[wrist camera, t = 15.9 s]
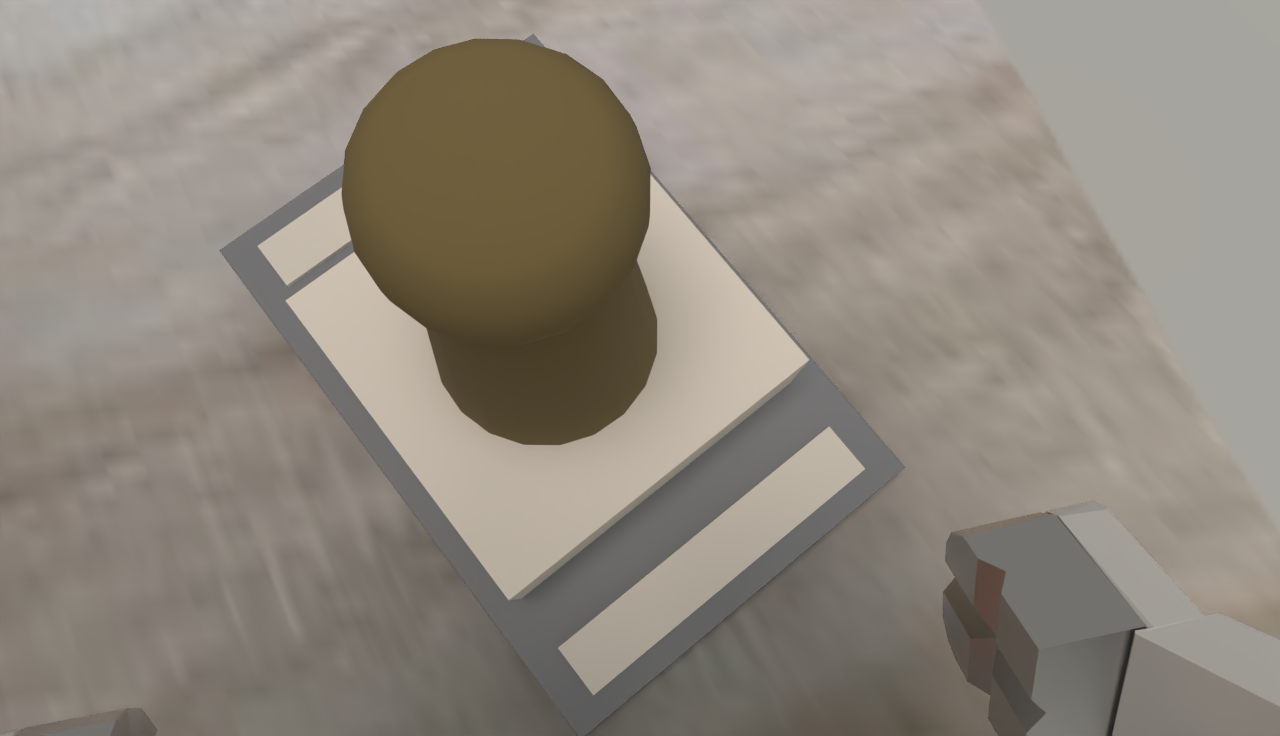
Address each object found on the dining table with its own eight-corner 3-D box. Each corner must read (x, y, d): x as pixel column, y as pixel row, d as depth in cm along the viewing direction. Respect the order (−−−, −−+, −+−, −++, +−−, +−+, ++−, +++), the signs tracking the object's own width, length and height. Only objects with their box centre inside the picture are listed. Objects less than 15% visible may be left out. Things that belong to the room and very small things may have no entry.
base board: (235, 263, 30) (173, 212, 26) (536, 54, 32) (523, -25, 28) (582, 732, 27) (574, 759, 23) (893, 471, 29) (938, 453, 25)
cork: (674, 429, 25) (711, 309, 14) (443, 461, 24) (299, 365, 14) (641, 214, 26) (651, -46, 15) (422, 243, 26) (274, -2, 15)
